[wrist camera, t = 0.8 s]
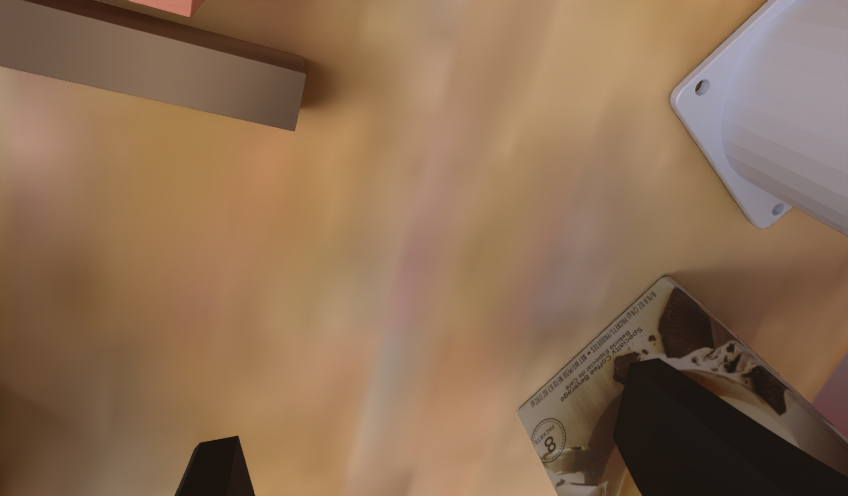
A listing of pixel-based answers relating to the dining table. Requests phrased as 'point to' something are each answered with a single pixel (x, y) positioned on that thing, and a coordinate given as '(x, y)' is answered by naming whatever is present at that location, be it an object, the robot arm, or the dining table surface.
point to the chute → (151, 59)
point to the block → (173, 5)
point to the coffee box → (687, 352)
